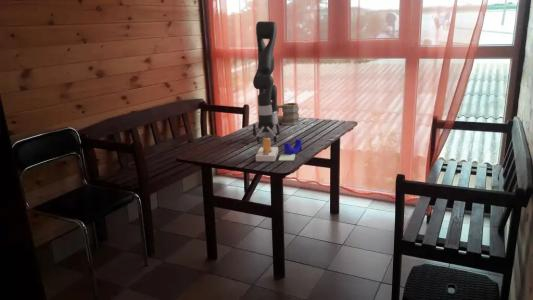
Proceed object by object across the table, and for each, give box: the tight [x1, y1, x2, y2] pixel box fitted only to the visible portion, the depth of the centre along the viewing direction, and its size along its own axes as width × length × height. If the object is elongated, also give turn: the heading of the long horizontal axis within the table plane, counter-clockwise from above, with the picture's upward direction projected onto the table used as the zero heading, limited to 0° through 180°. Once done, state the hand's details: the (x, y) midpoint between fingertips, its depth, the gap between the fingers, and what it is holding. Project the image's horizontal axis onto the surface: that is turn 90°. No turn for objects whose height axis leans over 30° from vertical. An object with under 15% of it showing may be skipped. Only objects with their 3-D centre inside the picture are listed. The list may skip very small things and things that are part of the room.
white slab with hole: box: [255, 146, 279, 162], centre depth 239 cm, size 16×10×3 cm, turn 171°
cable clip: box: [283, 138, 303, 155], centre depth 243 cm, size 12×4×6 cm, turn 140°
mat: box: [278, 153, 296, 162], centre depth 235 cm, size 10×8×1 cm
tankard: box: [277, 102, 301, 127], centre depth 310 cm, size 20×13×15 cm, turn 84°
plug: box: [262, 137, 272, 153], centre depth 238 cm, size 4×4×10 cm
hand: (266, 142), depth 237 cm, fingers open, 8 cm apart
